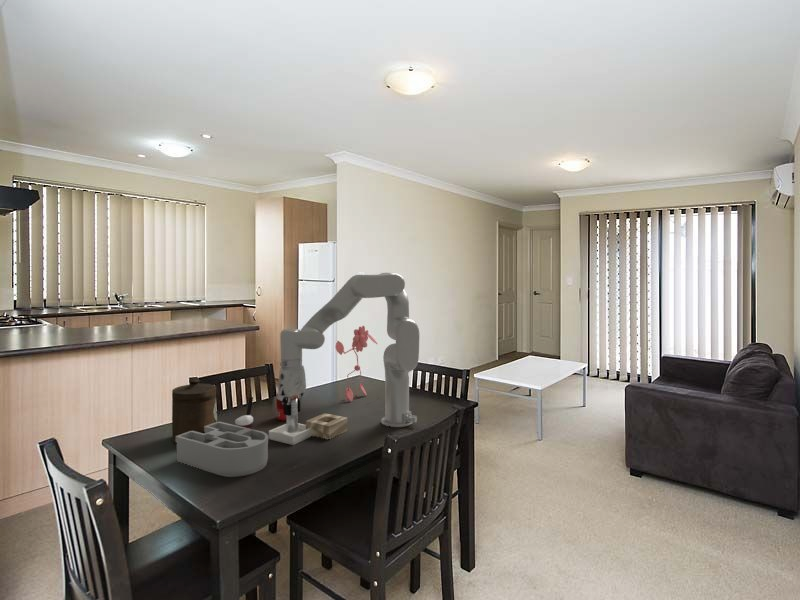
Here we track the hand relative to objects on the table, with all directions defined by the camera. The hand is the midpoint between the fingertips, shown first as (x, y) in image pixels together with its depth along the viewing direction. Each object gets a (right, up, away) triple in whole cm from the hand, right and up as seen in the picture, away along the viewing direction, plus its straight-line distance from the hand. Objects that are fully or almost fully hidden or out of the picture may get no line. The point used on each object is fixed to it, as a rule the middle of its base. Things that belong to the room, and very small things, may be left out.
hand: (292, 412), depth 167 cm
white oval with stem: (-19, -9, +6) cm, 22 cm away
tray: (0, -9, +1) cm, 9 cm away
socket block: (+12, -9, +5) cm, 16 cm away
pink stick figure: (+21, -6, +49) cm, 54 cm away
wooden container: (-35, -9, 0) cm, 36 cm away
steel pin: (0, -7, 0) cm, 7 cm away
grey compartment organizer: (-15, -11, -21) cm, 28 cm away
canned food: (-7, -8, +22) cm, 24 cm away
